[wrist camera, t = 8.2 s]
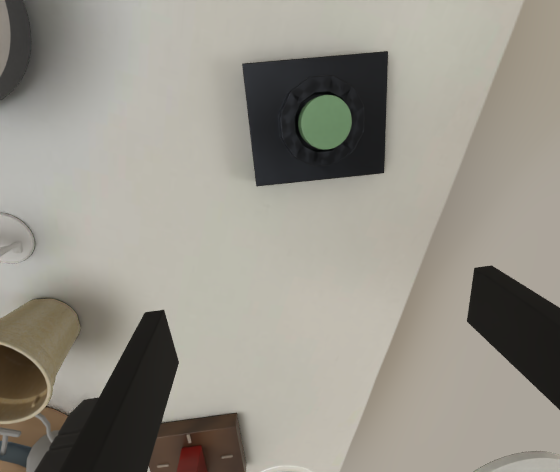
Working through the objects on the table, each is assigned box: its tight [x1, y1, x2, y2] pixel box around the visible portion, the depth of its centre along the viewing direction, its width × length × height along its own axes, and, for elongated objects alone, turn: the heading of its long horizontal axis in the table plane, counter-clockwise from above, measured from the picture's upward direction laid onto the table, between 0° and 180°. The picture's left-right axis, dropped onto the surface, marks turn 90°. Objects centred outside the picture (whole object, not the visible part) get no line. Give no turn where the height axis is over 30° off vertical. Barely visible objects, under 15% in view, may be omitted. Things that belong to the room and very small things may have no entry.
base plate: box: [149, 413, 246, 472], centre depth 42 cm, size 12×10×2 cm
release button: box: [298, 95, 352, 150], centre depth 25 cm, size 4×4×2 cm
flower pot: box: [0, 299, 80, 424], centre depth 30 cm, size 9×9×9 cm
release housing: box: [242, 51, 388, 186], centre depth 27 cm, size 12×10×4 cm
